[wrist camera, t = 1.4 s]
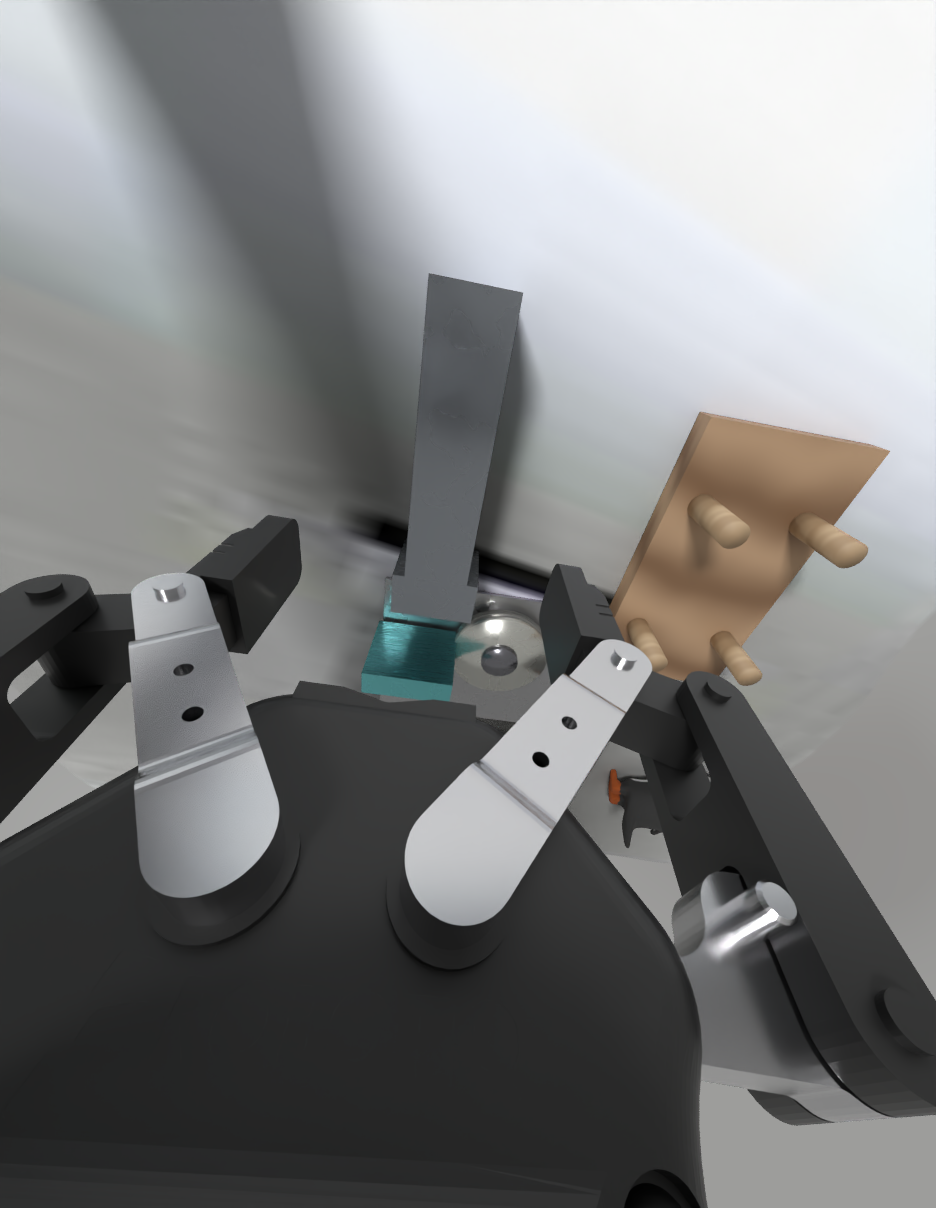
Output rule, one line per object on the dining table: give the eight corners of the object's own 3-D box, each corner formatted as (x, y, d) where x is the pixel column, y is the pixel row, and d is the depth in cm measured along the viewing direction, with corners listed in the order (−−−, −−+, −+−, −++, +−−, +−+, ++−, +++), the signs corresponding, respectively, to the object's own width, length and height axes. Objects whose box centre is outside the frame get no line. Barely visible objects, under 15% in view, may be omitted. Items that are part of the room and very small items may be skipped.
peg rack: (699, 411, 24) (752, 435, 19) (869, 444, 24) (961, 474, 20) (587, 655, 35) (602, 706, 31) (704, 672, 36) (737, 725, 31)
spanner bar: (425, 278, 20) (410, 269, 16) (529, 300, 21) (540, 296, 17) (402, 573, 31) (390, 611, 27) (472, 584, 31) (470, 623, 27)
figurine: (605, 773, 51) (740, 790, 47) (610, 860, 43) (773, 889, 39) (609, 738, 46) (759, 753, 43) (616, 827, 39) (800, 855, 35)
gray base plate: (386, 576, 31) (385, 578, 31) (607, 610, 32) (608, 612, 32) (380, 701, 40) (379, 704, 40) (554, 725, 41) (555, 727, 41)
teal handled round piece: (380, 590, 31) (361, 641, 26) (557, 617, 32) (570, 671, 27) (377, 663, 36) (361, 717, 31) (532, 684, 37) (539, 740, 32)
